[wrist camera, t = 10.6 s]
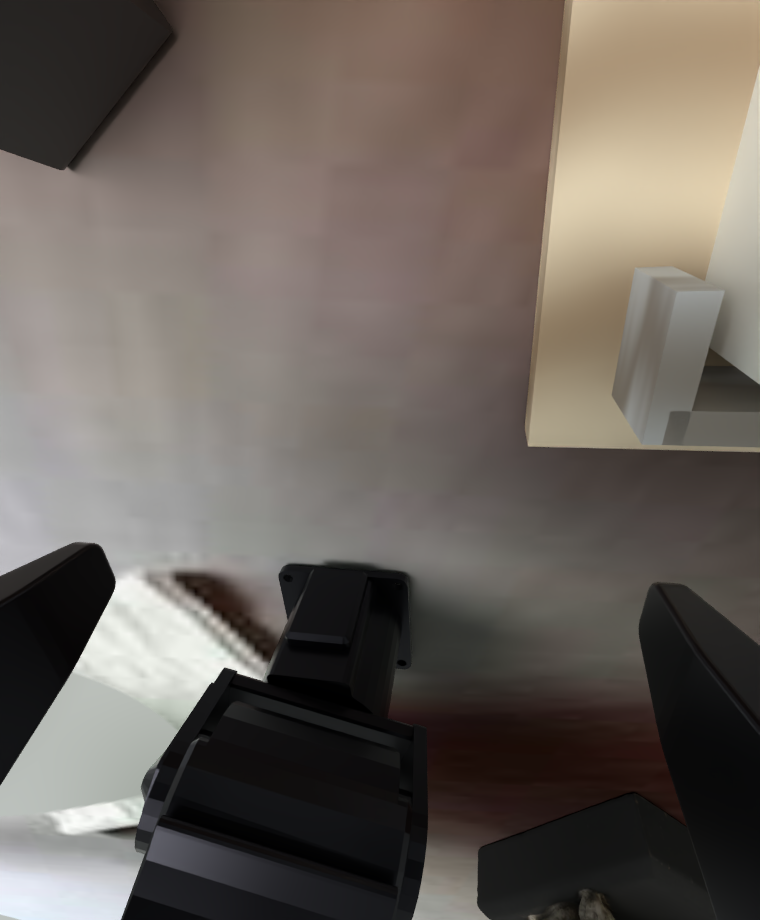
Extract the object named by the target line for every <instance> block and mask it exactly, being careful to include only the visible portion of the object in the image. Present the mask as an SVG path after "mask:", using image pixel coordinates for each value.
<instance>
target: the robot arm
mask: <svg viewBox="0 0 760 920" xmlns="http://www.w3.org/2000/svg"><path fill="white" fill-rule="evenodd" d="M287 574H288V575H290V576H288V575H287ZM291 576H292V577H291ZM279 582H280V586H281V591H282V595H283V600H284V605H285V609H286V614H287V619H288V621H287V624H286V626H285V628H284V631H283V633H282V635H281V638H280V640H279V642H278V645H277V647H276V650H275V652H274V654H273V657H272V659H271V661H270V664H269V666H268V669H267V671H266V673H265V676H264V678H263V680H262V681H260V680H257V679H254V678H250V677H247V676H244V675H240V674H237V671H235V670H232V669H228V668H224V669H223V670H222V672H221V673H220V675H219V676H218V678H217V679H216V681H215V682H214V683H211V684H210V685H209V687H208V688H207V690H206V691H205V693H204V694H203V696H202V697H201V699H200V700H199V702H198V703H197V705H196V706H195V708H194V709H193V711H192V712H191V714H190V715H189V717H188V718H187V720H186V721H185V722H184V724H183V725H182V727H181V728H180V730H179V731H178V733H177V734H176V736H175V737H174V739H173V740H172V742H171V744H170V745H169V747H168V748H167V749H166V751H165V752H164V753H163V754H162V755H161V756H160V758H159V759H158V760H157V761H156V762H155V763H154V764H153V765H152V766H151V768H150V769H149V770H148V772H147V773H146V775H145V777H144V779H143V782H142V785H141V790H142V794H143V797H144V801H145V804H144V807H143V811H142V815H141V818H140V822H139V825H138V828H137V833H136V838H135V849H136V851H137V852H140V853H143V854H145V856H144V858H143V861H142V864H141V867H140V869H139V872H138V875H137V878H136V880H135V883H134V886H133V888H132V891H131V894H130V897H129V899H128V902H127V905H126V908H125V910H124V913H123V916H122V919H121V920H412V917H413V914H414V911H415V907H416V903H417V899H418V895H419V890H420V885H421V880H422V874H423V867H424V861H425V852H426V843H427V830H428V795H427V730H426V727H423V726H420V725H416V724H413V725H412V726H411V725H408V724H405V723H401V722H398V721H395V720H391V719H388V712H389V706H390V700H391V694H392V687H393V681H394V675H395V669H407V668H409V667H410V666H411V661H412V646H411V622H410V599H409V581H408V578H407V577H406V576H405V575H403V574H400V573H391V572H377V571H363V570H349V569H335V568H321V567H307V566H293V565H286V566H284V567H283V568H282V569H281V571H280V573H279ZM115 583H116V581H115V576H114V574H113V571H112V569H111V567H110V565H109V562H108V560H107V558H106V555H105V553H104V551H103V549H102V547H101V546H99V545H98V544H95V543H84V542H75V543H71V544H69V545H67V546H65V547H63V548H60V549H58V550H56V551H54V552H52V553H50V554H47V555H45V556H43V557H41V558H39V559H37V560H34V561H32V562H30V563H28V564H26V565H24V566H21V567H19V568H17V569H15V570H13V571H11V572H8V573H6V574H4V575H2V576H0V785H1V784H2V782H3V780H4V779H5V777H6V776H7V774H8V773H9V771H10V769H11V768H12V766H13V765H14V763H15V761H16V760H17V758H18V757H19V755H20V754H21V752H22V750H23V749H24V747H25V746H26V744H27V743H28V741H29V739H30V738H31V736H32V735H33V733H34V731H35V730H36V728H37V727H38V725H39V724H40V722H41V720H42V719H43V717H44V716H45V714H46V713H47V711H48V709H49V708H50V706H51V705H52V703H53V702H54V700H55V698H56V697H57V695H58V694H59V692H60V691H61V689H62V687H63V686H64V684H65V682H66V681H67V679H68V678H69V676H70V674H71V673H72V671H73V669H74V667H75V665H76V664H77V662H78V660H79V658H80V656H81V654H82V652H83V650H84V648H85V646H86V644H87V643H88V641H89V639H90V637H91V635H92V633H93V631H94V629H95V627H96V625H97V623H98V621H99V619H100V617H101V615H102V614H103V612H104V610H105V608H106V606H107V604H108V602H109V600H110V598H111V596H112V594H113V592H114V589H115ZM395 583H400V584H401V585H398V584H395ZM639 639H640V644H641V649H642V654H643V659H644V664H645V669H646V674H647V678H648V683H649V688H650V693H651V698H652V703H653V708H654V713H655V718H656V723H657V728H658V732H659V737H660V741H661V745H662V748H663V752H664V755H665V759H666V762H667V765H668V768H669V771H670V775H671V778H672V781H673V784H674V787H675V790H676V793H677V796H678V800H679V803H680V806H681V809H682V812H683V815H684V818H685V821H686V825H687V828H688V831H689V834H690V837H691V840H692V843H693V846H694V850H695V853H696V856H697V859H698V862H699V865H700V868H701V871H702V875H703V878H704V881H705V884H706V887H707V890H708V893H709V896H710V900H711V903H712V906H713V909H714V912H715V915H716V918H717V920H760V645H758V644H757V643H756V642H755V641H753V640H752V639H751V638H750V637H749V636H747V635H746V634H745V633H744V632H742V631H741V630H740V629H739V628H737V627H736V626H735V625H734V624H733V623H731V622H730V621H729V620H728V619H726V618H725V617H724V616H723V615H721V614H720V613H719V612H718V611H717V610H715V609H714V608H713V607H712V606H710V605H709V604H708V603H707V602H706V601H704V600H703V599H702V598H701V597H699V596H698V595H697V594H696V593H694V592H693V591H692V590H691V589H689V588H688V587H687V586H685V585H682V584H675V583H661V582H656V583H653V584H652V585H651V586H650V588H649V590H648V593H647V597H646V600H645V604H644V607H643V611H642V614H641V618H640V621H639Z"/></svg>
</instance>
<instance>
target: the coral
mask: <svg viewBox="0 0 760 920" xmlns="http://www.w3.org/2000/svg"><path fill="white" fill-rule="evenodd" d="M477 891H478V898H477V904H478V907H479V909H480V910H481V911H482V912H483V913H484V914H485V915H486V916H487V917H488V918H489V919H491V920H717V918H716V915H715V912H714V909H713V906H712V903H711V900H710V896H709V893H708V890H707V887H706V884H705V881H704V878H703V875H702V871H701V868H700V865H699V862H698V859H697V856H696V853H695V850H694V846H693V843H692V840H691V837H690V834H689V831H688V828H687V827H686V826H684V825H683V824H681V823H680V822H678V821H677V820H676V819H674V818H672V817H671V816H669V815H668V814H666V813H665V812H664V811H662V810H661V809H659V808H658V807H656V806H654V805H653V804H651V803H650V802H648V801H647V800H645V799H644V798H643V797H641V796H639V795H637V794H635V793H633V794H626V795H624V796H622V797H621V798H617V799H613V800H610V801H607V802H605V803H602V804H599V805H598V806H593V807H590V808H588V809H585V810H583V811H580V812H577V813H574V814H572V815H569V816H567V817H564V818H562V819H559V820H556V821H553V822H551V823H548V824H545V825H543V826H540V827H537V828H535V829H532V830H529V831H527V832H525V833H523V834H519V835H516V836H513V837H510V838H508V839H506V840H503V841H499V842H496V843H493V844H490V845H487V846H484V847H482V848H481V849H479V851H478V888H477Z"/></svg>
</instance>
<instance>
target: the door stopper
mask: <svg viewBox="0 0 760 920" xmlns="http://www.w3.org/2000/svg"><path fill="white" fill-rule="evenodd" d="M171 33H172V28H171V26H170V25H169V23H168V22H167V20H166V19H165V17H164V16H163V14H162V13H161V11H160V10H159V9H158V7H157V6H156V4H155V3H154V1H153V0H0V149H1V150H4V151H7V152H9V153H12V154H15V155H18V156H21V157H24V158H27V159H30V160H33V161H36V162H38V163H41V164H44V165H47V166H50V167H53V168H56V169H59V170H65V168H66V167H67V166H68V164H69V163H70V162H71V161H72V159H73V158H74V157H75V155H76V154H77V153H78V152H79V150H80V149H81V148H82V147H83V145H84V144H85V143H86V141H87V140H88V139H89V138H90V136H91V135H92V134H93V132H94V131H95V130H96V129H97V127H98V126H99V125H100V124H101V122H102V121H103V120H104V118H105V117H106V116H107V115H108V113H109V112H110V111H111V109H112V108H113V107H114V106H115V104H116V103H117V102H118V100H119V99H120V98H121V97H122V95H123V94H124V93H125V92H126V90H127V89H128V88H129V86H130V85H131V84H132V83H133V81H134V80H135V79H136V77H137V76H138V75H139V74H140V72H141V71H142V70H143V69H144V67H145V66H146V65H147V63H148V62H149V61H150V60H151V58H152V57H153V56H154V54H155V53H156V52H157V51H158V49H159V48H160V47H161V45H162V44H163V43H164V42H165V40H166V39H167V38H168V37H169V35H170V34H171Z"/></svg>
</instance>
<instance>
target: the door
mask: <svg viewBox="0 0 760 920" xmlns="http://www.w3.org/2000/svg"><path fill="white" fill-rule="evenodd" d="M705 282H708V283H710V284H712V285H714V286H716V287H718V288H721V289H723V290H725V292H724V296H723V299H722V303H721V306H720V310H719V314H718V317H717V321H716V325H715V328H714V332H713V335H712V339H711V343H710V346H709V348H711V349H712V350H713V351H715V352H716V353H717V354H719V355H720V356H722V357H723V358H724V359H726V360H727V361H728V362H730V363H731V364H732V365H734V366H735V367H736V368H738V369H739V370H741V371H742V372H743V373H745V374H746V375H747V376H749V377H750V378H751V379H753V380H754V381H755V382H757V383H758V384H760V66H759V70H758V74H757V78H756V82H755V86H754V89H753V93H752V97H751V101H750V105H749V109H748V113H747V117H746V121H745V125H744V129H743V133H742V137H741V141H740V145H739V149H738V152H737V156H736V160H735V164H734V168H733V172H732V176H731V180H730V184H729V188H728V192H727V196H726V200H725V204H724V208H723V212H722V216H721V219H720V223H719V227H718V231H717V235H716V239H715V243H714V247H713V251H712V255H711V259H710V263H709V267H708V271H707V275H706V279H705Z"/></svg>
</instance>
